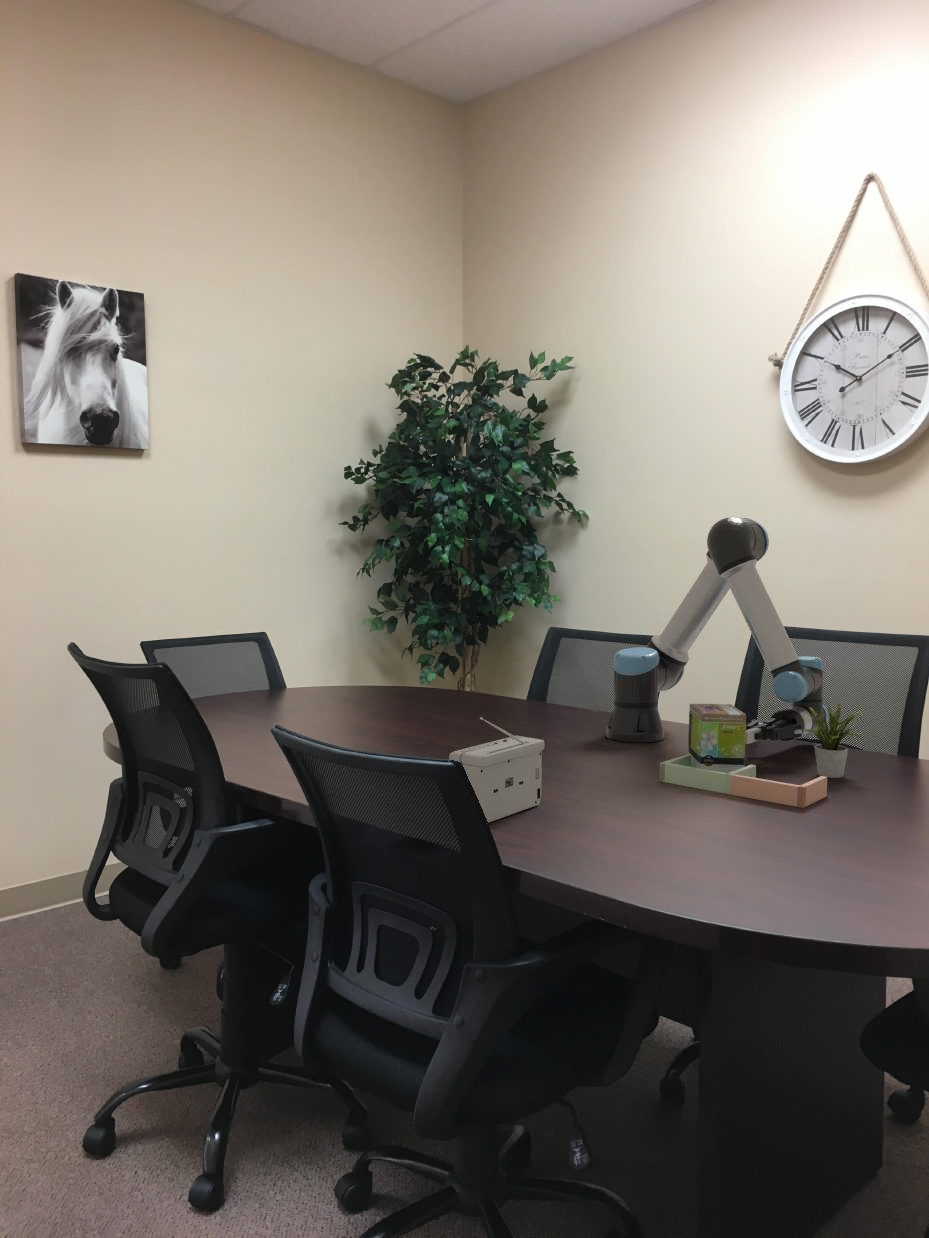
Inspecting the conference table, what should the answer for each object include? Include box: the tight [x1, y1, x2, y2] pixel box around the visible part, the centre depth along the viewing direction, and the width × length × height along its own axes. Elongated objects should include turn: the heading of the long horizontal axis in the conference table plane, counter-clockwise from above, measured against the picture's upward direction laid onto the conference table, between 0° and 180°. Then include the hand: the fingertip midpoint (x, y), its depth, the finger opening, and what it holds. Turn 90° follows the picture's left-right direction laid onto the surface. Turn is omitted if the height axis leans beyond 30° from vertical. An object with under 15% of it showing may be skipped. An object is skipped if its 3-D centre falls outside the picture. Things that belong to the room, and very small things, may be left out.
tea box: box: [687, 703, 747, 773], centre depth 212 cm, size 15×10×15 cm, turn 177°
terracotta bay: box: [729, 774, 828, 809], centre depth 193 cm, size 15×12×4 cm
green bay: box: [659, 753, 757, 795], centre depth 204 cm, size 16×12×4 cm
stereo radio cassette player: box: [448, 716, 546, 824], centre depth 180 cm, size 21×8×20 cm, turn 141°
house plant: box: [804, 702, 865, 779], centre depth 209 cm, size 14×14×16 cm
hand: (744, 737), depth 217 cm, fingers closed
